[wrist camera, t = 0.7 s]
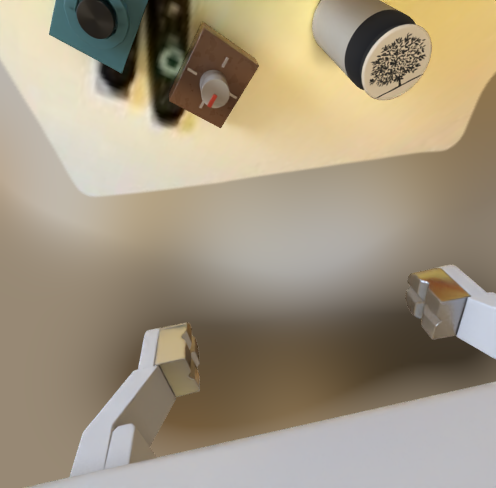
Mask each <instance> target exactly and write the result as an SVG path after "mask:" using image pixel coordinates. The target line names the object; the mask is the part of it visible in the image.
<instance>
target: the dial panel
mask: <svg viewBox="0 0 496 488" xmlns="http://www.w3.org/2000/svg"><path fill="white" fill-rule="evenodd" d="M258 67H259V65H258V63H257V61H256V59H255V58H254V57H252V56H251V55H249V54H248V53H246V52H245V51H244V50H242V49H241V48H239V47H238V46H237V45H235V44H234V43H232V42H231V41H229V40H228V39H227V38H225V37H224V36H222V35H221V34H220V33H218V32H217V31H215V30H214V29H212V28H211V27H210V26H208V25H207V24H205V23H204V22H202V23H201V25H200V28H199V30H198V32H197V34H196V36H195V38H194V40H193V43H192V45H191V47H190V49H189V51H188V53H187V55H186V57H185V60H184V62H183V64H182V66H181V68H180V70H179V72H178V75H177V77H176V79H175V81H174V83H173V85H172V87H171V90H170V92H169V101H170V102H172V103H174V104H176V105H178V106H180V107H182V108H184V109H185V110H187V111H189V112H191V113H193V114H195V115H197V116H199V117H201V118H202V119H204V120H206V121H208V122H210V123H212V124H214V125H216V126H218V127H219V128H221V127H222V125H223V124H224V122H225V120H226V119H227V117H228V115H229V114H230V112H231V111H232V109H233V107H234V106H235V104H236V102H237V101H238V99H239V98H240V96H241V94H242V93H243V91H244V89H245V88H246V86H247V85H248V83H249V81H250V80H251V78H252V76H253V75H254V73H255V72H256V70H257V68H258ZM208 70H218V71H220V72H221V73H222V74H223V75H224V76H225V78H226V81H227V84H228V87H229V91H230V96H229V99H228V101H227V103H226V104H225V105H224V106H222V107H219V108H212V107H211V108H210V107H208V106H207V105H206V104H205V103H204V101H203V100H202V97H201V90H200V79H201V77H202V75H203V74H204V73H205V72H206V71H208Z"/></svg>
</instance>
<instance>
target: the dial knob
mask: <svg viewBox="0 0 496 488" xmlns="http://www.w3.org/2000/svg"><path fill="white" fill-rule="evenodd" d="M200 90H201V97H202V100H203V101H204V103H205V104H206V105H207V106H208V107H210V108H211V107H212V108H219V107H222V106H224V105H225V104H226V103H227V101H228V99H229V96H230V91H229V87H228V84H227V81H226V78H225V76H224V75H223V74H222V73H221V72H220V71H218V70H208V71H206V72H205V73H204V74H203V75H202V77H201V79H200Z"/></svg>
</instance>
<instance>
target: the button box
mask: <svg viewBox="0 0 496 488" xmlns="http://www.w3.org/2000/svg"><path fill="white" fill-rule="evenodd" d="M105 1H106V2H107V3H108V4H109V5H110V6H111V8H112V10H113V12H114V14H115V27H114V29H113V32H112V34H111V35H110V36H109V37H107V38H105V39H96V38H93V37H91V36H89V35H88V34H87V33H86V32H85V31H84V30H83V29H82V28H81V26H80V24H79V22H78V20H77V14H76V11H77V7H78V4H79V3H80V2H81V0H56V2H55V7H54V12H53V17H52V22H51V27H50V32H49V35H51V36H53V37H55V38H57V39H59V40H60V41H62V42H64V43H66V44H68V45H70V46H72V47H73V48H75V49H77V50H79V51H81V52H83V53H85V54H87V55H88V56H90V57H92V58H94V59H96V60H98V61H100V62H102V63H103V64H105V65H107V66H109V67H111V68H113V69H115V70H117V71H118V72H120V73H122V72H123V69H124V66H125V63H126V60H127V58H128V55H129V52H130V49H131V47H132V44H133V41H134V38H135V36H136V33H137V30H138V27H139V24H140V22H141V19H142V16H143V13H144V11H145V8H146V5H147V2H148V0H105Z"/></svg>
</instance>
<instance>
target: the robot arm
mask: <svg viewBox="0 0 496 488" xmlns="http://www.w3.org/2000/svg"><path fill="white" fill-rule="evenodd" d="M408 283H409V285H410V287H409V289H408V290H407V291H406V298H405V299H406V303H407V306H408V308H409V310H410V312H411V313H412V314H413V316H415V317H417V318H419V319H421V320H422V321H421V326H422V327H423V328H424V330H425V331H426V332H427V333H428V335H429V336H430V337H431V339H433V340H434V339H439V338H444V337H450V336H455V335H457V337H458V338H460V339H462V340H463V341H466V342H467V343H469V344H471V345H472V346H474V347H476V348H477V349H479V350H481V351H482V352H484V353H486V354H488V355H489V356H491V357H493V358H495V359H496V294H495V293H492V292H490V293H486V292H485V291H484V290H483V289H482V288H481V287H480V286H478V285H477V284H476V283H475V282H474V281H473V280H471V279H470V278H469V277H468V276H467V275H466V274H465V273H463V272H462V271H461V270H460V269H459V268H458V267H456V266H455V265H452V264H451V265H447V266H442V267H438V268H434V269H429V270H425V271H420V272H416V273H411V274H410V275H409V277H408ZM199 363H200V360H199V349H198V345H197V341H196V338H195V337H194V336H192V328H191V326H190V324H189V323H188V322H187V323H182V324H176V325H171V326H166V327H161V328H157V329H152V330H147V331H146V333H145V335H144V341H143V346H142V352H141V357H140V362H139V367H138V370H135V371H133V372H132V374H131V375H130V376H129V377H128V379H127V380H126V381H125V382H124V383H123V384H122V386H121V387H120V388H119V389H118V390H117V392H116V393H115V394H114V395H113V397H112V398H111V399H110V400H109V401H108V403H107V404H106V405H105V407H104V408H103V409H102V410H101V411H100V412H99V414H98V415H97V416H96V417H95V418H94V420H93V421H92V422H91V423H90V425H89V426H88V427H87V428H86V429H85V431H84V432H83V434H82V437H81V441H80V444H79V447H78V451H77V454H76V458H75V461H74V464H73V467H72V471H71V474H70V477H69V478H64V479H60V480H55V481H51V482H47V483H42V484H37V485H33V486H28V487H24V488H496V382H492V383H488V384H483V385H478V386H474V387H469V388H465V389H461V390H457V391H452V392H447V393H443V394H438V395H434V396H429V397H425V398H421V399H416V400H412V401H407V402H404V403H399V404H394V405H390V406H385V407H381V408H377V409H372V410H367V411H363V412H358V413H354V414H349V415H345V416H341V417H336V418H332V419H327V420H323V421H319V422H314V423H310V424H305V425H301V426H297V427H292V428H287V429H283V430H279V431H274V432H269V433H265V434H260V435H256V436H252V437H247V438H243V439H238V440H234V441H230V442H225V443H220V444H216V445H212V446H207V447H203V448H198V449H194V450H190V451H185V452H180V453H176V454H171V455H167V456H163V457H158V458H157V457H156V455H155V454H154V452H153V451H152V449H151V448H150V445H151V444H152V442H153V440H154V438H155V436H156V434H157V433H158V431H159V429H160V427H161V425H162V423H163V422H164V420H165V418H166V416H167V414H168V412H169V410H170V409H171V407H172V405H173V403H174V401H175V399H176V398H175V397H179V396H182V395H187V394H191V393H195V392H198V391H199V389H200V388H199V385H200V383H199V382H200V380H199V379H200V377H199V376H200V374H199V372H198V369H197V366H198V365H199Z"/></svg>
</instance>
